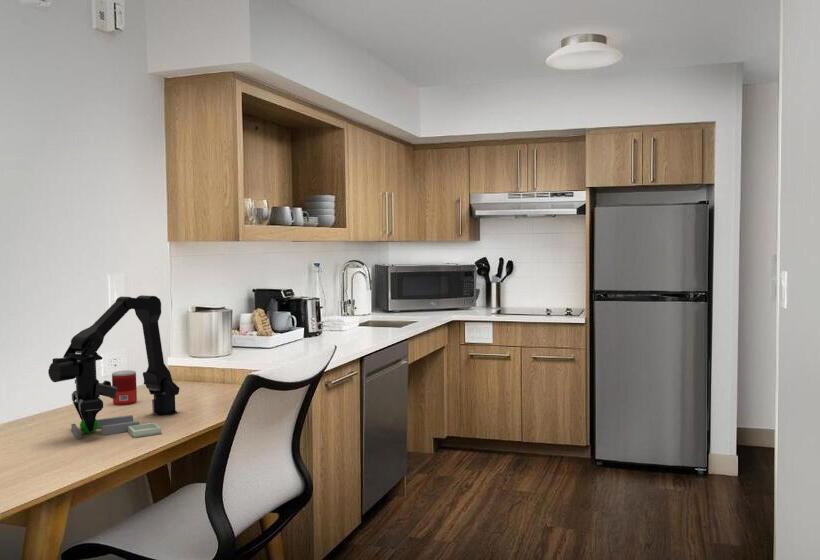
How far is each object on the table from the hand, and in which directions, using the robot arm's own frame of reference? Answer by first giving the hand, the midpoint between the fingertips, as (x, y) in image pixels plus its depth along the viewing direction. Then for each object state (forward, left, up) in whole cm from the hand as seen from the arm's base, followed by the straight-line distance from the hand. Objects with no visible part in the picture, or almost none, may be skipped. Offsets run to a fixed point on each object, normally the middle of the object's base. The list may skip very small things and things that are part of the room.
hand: (88, 428), depth 226 cm
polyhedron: (0, 0, -2) cm, 2 cm away
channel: (-6, 0, -2) cm, 6 cm away
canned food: (-18, -37, -2) cm, 41 cm away
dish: (-14, +10, -2) cm, 17 cm away
